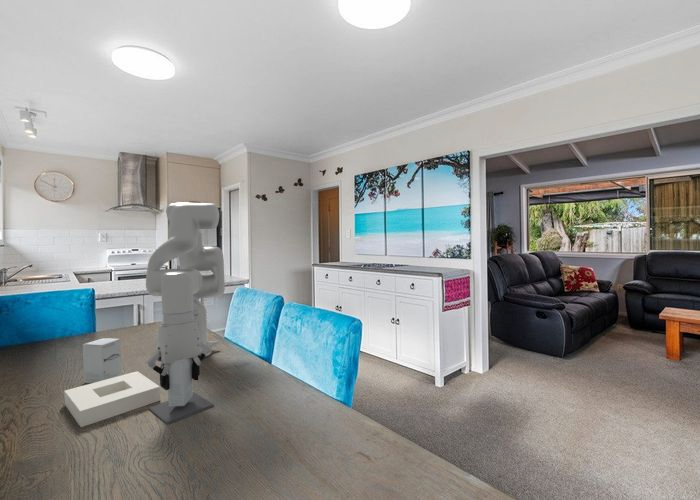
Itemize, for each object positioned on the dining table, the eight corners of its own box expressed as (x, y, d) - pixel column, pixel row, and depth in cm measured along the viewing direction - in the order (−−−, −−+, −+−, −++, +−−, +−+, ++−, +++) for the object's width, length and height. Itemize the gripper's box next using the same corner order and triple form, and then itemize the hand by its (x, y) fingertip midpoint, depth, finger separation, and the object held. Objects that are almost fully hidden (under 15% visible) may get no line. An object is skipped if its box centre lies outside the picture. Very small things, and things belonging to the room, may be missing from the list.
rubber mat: (193, 393, 102) (193, 391, 102) (213, 406, 94) (213, 404, 94) (148, 409, 93) (148, 407, 93) (166, 424, 85) (166, 422, 85)
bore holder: (137, 383, 110) (137, 371, 110) (160, 400, 98) (159, 386, 98) (65, 404, 96) (64, 390, 96) (80, 427, 84) (80, 411, 84)
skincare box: (177, 396, 96) (176, 353, 96) (192, 396, 97) (192, 353, 97) (167, 407, 90) (166, 361, 90) (184, 406, 91) (184, 360, 90)
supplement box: (102, 384, 109) (101, 345, 109) (83, 383, 111) (81, 344, 111) (122, 375, 117) (120, 338, 116) (103, 374, 118) (102, 337, 118)
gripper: (203, 310, 102) (205, 370, 102) (136, 322, 89) (139, 391, 89) (216, 314, 97) (218, 377, 98) (147, 327, 84) (150, 399, 84)
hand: (180, 383), depth 93 cm, fingers closed on skincare box, 7 cm apart
